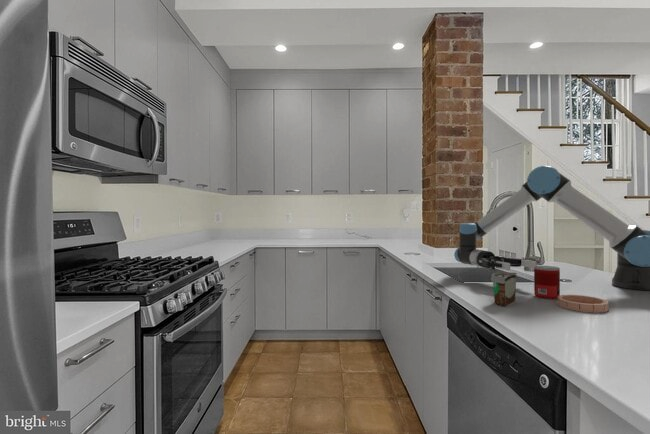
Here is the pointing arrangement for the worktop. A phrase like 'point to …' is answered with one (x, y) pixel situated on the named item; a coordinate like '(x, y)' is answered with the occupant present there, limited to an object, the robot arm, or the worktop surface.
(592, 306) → the ring dish
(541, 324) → the worktop surface
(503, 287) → the food container
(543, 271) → the canned food
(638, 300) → the worktop surface
